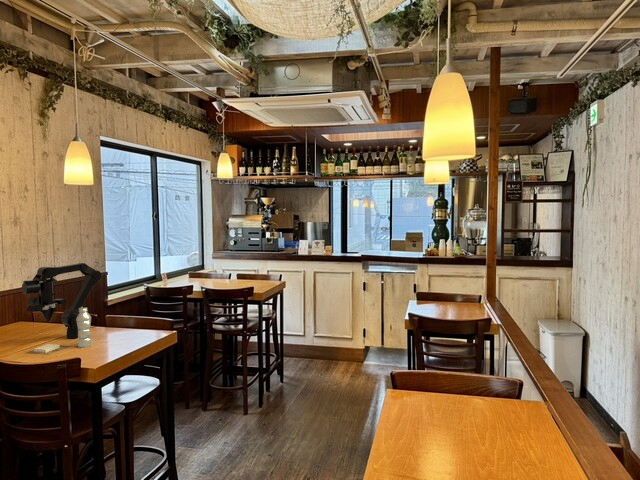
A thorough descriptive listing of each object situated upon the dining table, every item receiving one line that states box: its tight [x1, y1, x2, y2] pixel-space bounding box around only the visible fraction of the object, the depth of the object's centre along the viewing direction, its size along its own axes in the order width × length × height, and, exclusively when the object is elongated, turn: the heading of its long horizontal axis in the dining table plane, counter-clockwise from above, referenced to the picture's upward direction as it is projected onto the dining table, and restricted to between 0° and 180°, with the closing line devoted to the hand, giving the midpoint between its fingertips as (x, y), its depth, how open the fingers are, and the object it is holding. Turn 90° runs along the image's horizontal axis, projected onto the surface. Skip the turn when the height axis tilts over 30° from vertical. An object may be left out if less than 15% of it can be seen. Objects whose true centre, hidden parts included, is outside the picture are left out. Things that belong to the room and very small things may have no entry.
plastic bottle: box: [76, 306, 93, 349], centre depth 214 cm, size 6×7×20 cm
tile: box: [33, 343, 60, 353], centre depth 209 cm, size 2×7×8 cm
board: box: [25, 344, 72, 356], centre depth 210 cm, size 14×14×1 cm
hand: (48, 321), depth 221 cm, fingers closed
